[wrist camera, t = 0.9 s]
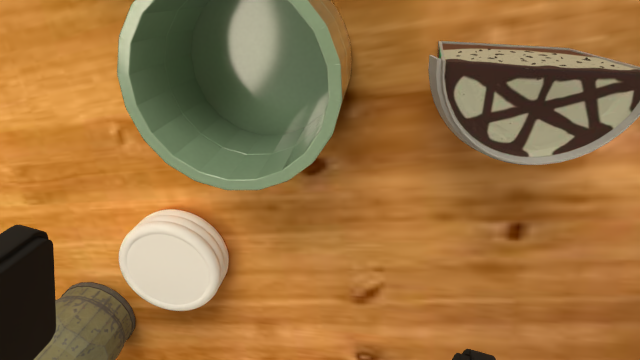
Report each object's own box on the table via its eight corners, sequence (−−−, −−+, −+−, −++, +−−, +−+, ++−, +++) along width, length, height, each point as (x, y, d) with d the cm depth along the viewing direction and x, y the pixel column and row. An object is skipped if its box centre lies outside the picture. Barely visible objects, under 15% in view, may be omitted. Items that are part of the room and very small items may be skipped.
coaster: (201, 306, 46) (188, 330, 43) (120, 255, 45) (100, 276, 41) (248, 245, 42) (238, 266, 39) (161, 188, 41) (142, 205, 37)
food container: (408, 118, 35) (418, 164, 26) (418, 39, 32) (433, 60, 23) (566, 130, 34) (635, 182, 25) (590, 49, 31) (676, 74, 22)
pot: (313, -66, 30) (285, -89, 21) (375, 110, 35) (373, 153, 26) (155, 9, 34) (73, 16, 25) (230, 160, 38) (184, 214, 29)
